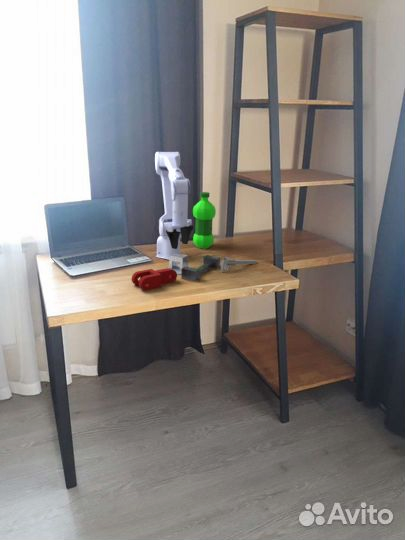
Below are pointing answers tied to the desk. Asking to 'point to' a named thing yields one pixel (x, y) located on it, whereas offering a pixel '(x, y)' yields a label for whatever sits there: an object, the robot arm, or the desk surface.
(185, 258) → the white block
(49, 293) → the desk surface
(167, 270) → the mechanical linkage
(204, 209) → the plastic bottle
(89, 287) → the desk surface
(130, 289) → the desk surface
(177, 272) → the mat
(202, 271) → the vise
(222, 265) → the caliper
